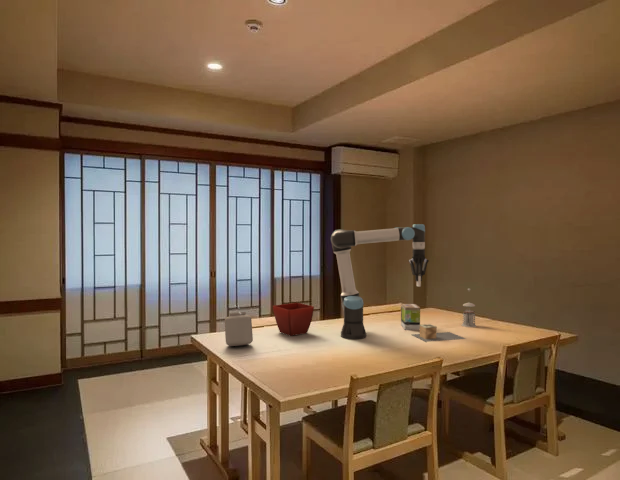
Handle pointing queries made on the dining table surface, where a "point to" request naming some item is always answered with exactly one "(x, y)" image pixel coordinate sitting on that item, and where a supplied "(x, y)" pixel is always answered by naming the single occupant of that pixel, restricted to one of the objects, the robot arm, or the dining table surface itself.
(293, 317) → the plant pot
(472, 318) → the french press
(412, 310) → the tea box
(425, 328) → the wooden block
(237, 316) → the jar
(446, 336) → the slate mat
